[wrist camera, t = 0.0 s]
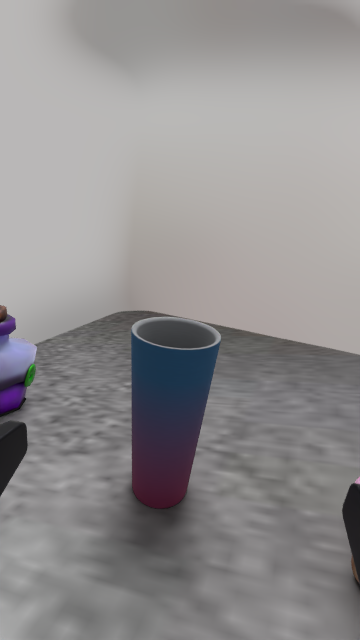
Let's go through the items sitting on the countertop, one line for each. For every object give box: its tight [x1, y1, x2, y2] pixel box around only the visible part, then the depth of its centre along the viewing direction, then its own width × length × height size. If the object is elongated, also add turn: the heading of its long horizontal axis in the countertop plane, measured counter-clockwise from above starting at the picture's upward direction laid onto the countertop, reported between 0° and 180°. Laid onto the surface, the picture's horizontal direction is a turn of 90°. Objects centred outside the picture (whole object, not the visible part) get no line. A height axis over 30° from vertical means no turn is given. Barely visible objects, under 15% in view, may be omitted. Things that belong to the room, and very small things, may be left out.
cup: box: [131, 317, 221, 509], centre depth 25 cm, size 7×7×15 cm
